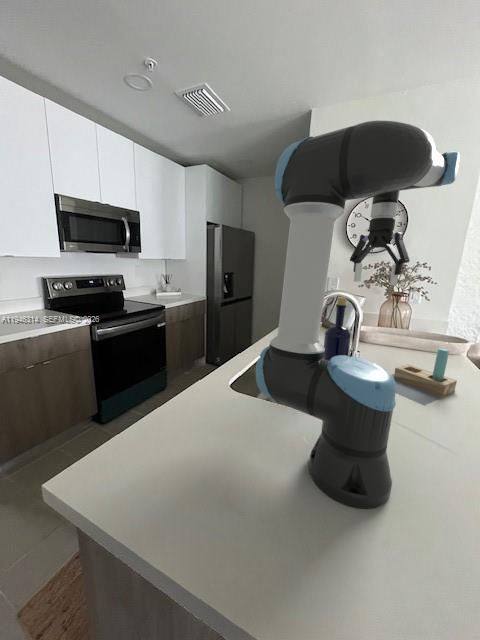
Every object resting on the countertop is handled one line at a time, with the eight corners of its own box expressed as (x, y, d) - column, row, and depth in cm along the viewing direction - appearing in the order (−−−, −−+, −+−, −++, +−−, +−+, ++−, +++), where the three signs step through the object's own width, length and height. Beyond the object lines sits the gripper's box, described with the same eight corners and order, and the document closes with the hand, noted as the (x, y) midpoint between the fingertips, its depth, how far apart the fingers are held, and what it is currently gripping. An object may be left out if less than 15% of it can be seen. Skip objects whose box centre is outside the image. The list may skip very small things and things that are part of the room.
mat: (424, 406, 81) (424, 405, 81) (369, 382, 97) (370, 381, 96) (455, 392, 91) (455, 391, 91) (402, 372, 106) (402, 371, 106)
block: (442, 397, 87) (445, 385, 86) (393, 377, 100) (395, 367, 99) (454, 391, 91) (456, 380, 90) (405, 373, 104) (407, 364, 103)
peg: (438, 391, 90) (446, 352, 87) (428, 388, 93) (436, 349, 89) (442, 390, 92) (450, 350, 88) (432, 386, 94) (440, 347, 91)
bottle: (342, 376, 101) (352, 296, 94) (350, 387, 92) (361, 300, 86) (317, 374, 102) (325, 295, 95) (322, 385, 93) (331, 299, 86)
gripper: (429, 215, 81) (417, 286, 85) (357, 223, 102) (350, 280, 106) (416, 212, 77) (404, 287, 82) (343, 221, 98) (337, 280, 103)
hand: (373, 283), depth 94 cm, fingers open, 13 cm apart
